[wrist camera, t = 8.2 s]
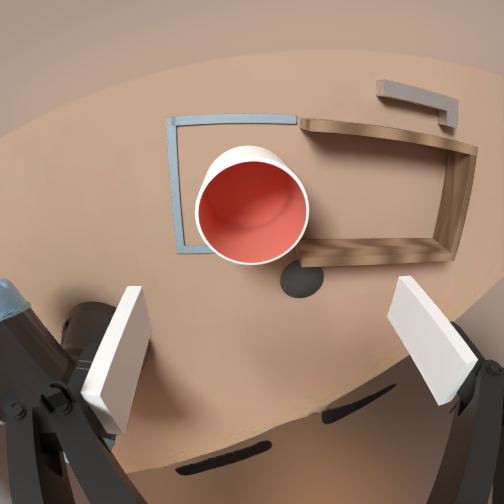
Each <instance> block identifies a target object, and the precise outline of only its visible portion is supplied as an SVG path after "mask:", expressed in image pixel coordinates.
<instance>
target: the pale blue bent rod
mask: <svg viewBox="0 0 504 504" xmlns="http://www.w3.org/2000/svg"><path fill="white" fill-rule="evenodd" d="M211 123H289V124H296V115H276V114H221V115H198V116H182V117H170V118H167V137H168V157H169V173H170V186H171V199H172V210H173V220H174V230H175V240H176V248H177V254H185V253H215V252H214V251H212V250H211V249H210V248H209V247H208V246H207V245H188V246H184V238H183V228H182V216H181V204H180V191H179V176H178V159H177V137H176V126H177V125H192V124H211Z"/></svg>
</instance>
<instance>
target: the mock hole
mask: <svg viewBox="0 0 504 504" xmlns="http://www.w3.org/2000/svg"><path fill="white" fill-rule="evenodd" d="M322 282H323V272H322V269H321V268H320V267H301V265H300V262H299V261H296V262H294V263H292V264H290V265H289V266H288V267H287V268H286V269H285V270H284V271H283V273H282V275H281V287H282V289H283V291H284V292H285V293H286V294H287V295H289V296H291V297H295V298H304V297H307V296H310V295H312V294H314V293H315V292H316V291H317V290H318V289H319V288H320V286H321V285H322Z"/></svg>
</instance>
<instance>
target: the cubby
mask: <svg viewBox="0 0 504 504" xmlns="http://www.w3.org/2000/svg"><path fill="white" fill-rule="evenodd" d="M300 128H301V129H305V130H308V131H315V132H329V133H341V134H352V135H361V136H370V137H378V138H385V139H392V140H399V141H406V142H412V143H418V144H423V145H429V146H434V147H439V148H444V149H449V150H448V158H447V166H446V173H445V180H444V186H443V192H442V197H441V203H440V208H439V213H438V218H437V222H436V227H435V231H434V235H433V238H389V239H301V240H300V241H299V242H298V243H297V244H296V246H295V247H294V250H295V252H296V255H297V257H298V260H299V262H300V265H301V267H325V266H351V265H376V264H398V263H419V262H438V261H454V260H455V257H456V253H457V250H458V246H459V243H460V239H461V235H462V231H463V227H464V223H465V219H466V214H467V210H468V205H469V200H470V195H471V190H472V184H473V179H474V172H475V165H476V158H477V150H478V147H475V146H472V145H469V144H465V143H462V142H458V141H454V140H450V139H446V138H442V137H437V136H433V135H428V134H423V133H418V132H413V131H407V130H402V129H396V128H390V127H383V126H376V125H369V124H361V123H353V122H344V121H333V120H322V119H308V118H300Z"/></svg>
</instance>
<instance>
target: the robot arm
mask: <svg viewBox="0 0 504 504" xmlns="http://www.w3.org/2000/svg"><path fill="white" fill-rule="evenodd" d="M30 306H31V305H30V303H29V302H27V301H26V300H25V299H24V298H23V296H22V295H21V294H20V292H19V291H18V290H17V288H16V287H15V286H14V284H13V283H12V282H11V281H9V280H8V279H4V278H0V424H5V422H6V441H7V442H6V443H7V462H8V473H9V483H10V490H11V497H12V503H13V504H75V501H74V497H73V494H72V490H71V486H70V482H69V477H68V473H67V468H66V463H65V462H67V463H69V464H70V466H71V468H72V470H73V472H74V474H75V476H76V478H77V480H78V482H79V484H80V486H81V488H82V489H83V491H84V493H85V495H86V496H87V498H88V500H89V502H90V503H91V504H147V502H146V501H145V500H144V498H143V497H142V496H141V494H140V493H139V492H138V490H137V489H136V488H135V487H134V485H133V483H132V482H131V481H130V479H129V478H128V476H127V475H126V473H125V472H124V470H123V469H122V467H121V466H120V464H119V463H118V461H117V460H116V458H115V457H114V455H113V453H112V452H111V450H112V447H113V446H114V444H115V437H116V435H122V436H125V433H126V428H127V424H128V420H129V415H130V411H131V407H132V403H133V398H134V394H135V390H136V386H137V383H138V379H139V375H140V371H141V370H142V369H143V367H144V365H145V363H146V360H147V357H148V353H149V343H148V342H149V339H150V335H151V332H152V326H151V322H150V318H149V314H148V310H147V306H146V301H145V297H144V293H143V288H142V286H128V287H127V289H126V291H125V293H124V295H123V297H122V299H121V301H120V303H119V305H118V307H117V308H115V307H113V306H110V305H107V304H104V303H98V302H86V303H82V304H79V305H77V306H76V307H74V308H73V309H72V310H71V312H70V313H69V315H68V317H67V318H66V320H65V322H64V326H63V332H62V339H61V345H60V344H59V343H58V342H57V341H56V340H55V338H54V337H53V336H52V335H51V333H50V332H49V331H48V330H47V328H46V327H45V326H44V325H43V323H42V322H41V321H40V319H39V318H38V317H37V315H36V314H35V313H34V311H33V310H32V309H31V307H30ZM387 318H388V319H389V321H390V323H391V324H392V326H393V327H394V329H395V331H396V332H397V334H398V335H399V337H400V339H401V340H402V342H403V344H404V345H405V347H406V349H407V350H408V352H409V354H410V355H411V357H412V359H413V361H414V362H415V364H416V366H417V367H418V369H419V371H420V373H421V374H422V376H423V378H424V380H425V381H426V383H427V385H428V387H429V389H430V390H431V392H432V394H433V396H434V398H435V399H436V401H437V403H438V405H442V404H444V403H447V402H450V401H451V400H452V399H453V397H454V396H455V395H456V393H457V394H458V396H459V399H458V400H457V402H456V403H455V404H454V406H453V407H452V408H451V410H450V412H449V413H452V411H453V410H454V409H455V413H454V417H453V422H452V426H451V430H450V434H449V438H448V442H447V445H446V449H445V453H444V456H443V459H442V462H441V465H440V468H439V471H438V474H437V477H436V480H435V483H434V486H433V488H432V491H431V493H430V496H429V499H428V501H427V503H426V504H487V503H488V499H489V495H490V491H491V486H492V483H493V495H492V504H504V368H502V367H501V366H500V365H499V364H498V363H497V362H495V361H493V360H485V359H484V358H483V356H482V355H481V354H480V352H479V351H478V349H477V348H476V347H475V345H474V344H473V343H472V342H471V341H470V339H469V338H468V336H467V335H466V334H465V333H464V331H463V330H462V329H461V328H460V327H459V326H458V325H457V324H455V323H454V322H449V321H448V319H447V318H446V317H445V316H444V315H443V313H442V312H441V311H440V310H439V308H438V307H437V306H436V305H435V304H434V302H433V301H432V300H431V299H430V298H429V297H428V295H427V294H426V293H425V292H424V291H423V290H422V288H421V287H420V286H419V285H418V284H417V283H416V282H415V280H414V279H413V278H412V277H411V276H399V278H398V282H397V286H396V289H395V293H394V296H393V300H392V303H391V306H390V310H389V313H388V316H387Z"/></svg>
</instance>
